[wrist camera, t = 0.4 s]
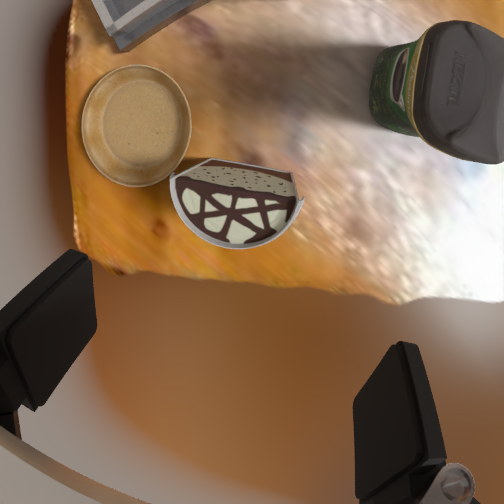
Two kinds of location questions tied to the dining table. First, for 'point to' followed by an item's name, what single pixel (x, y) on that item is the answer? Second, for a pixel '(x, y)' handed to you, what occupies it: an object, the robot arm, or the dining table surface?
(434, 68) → the coffee jar
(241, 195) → the food container
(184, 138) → the plant saucer
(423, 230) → the dining table surface
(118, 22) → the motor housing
